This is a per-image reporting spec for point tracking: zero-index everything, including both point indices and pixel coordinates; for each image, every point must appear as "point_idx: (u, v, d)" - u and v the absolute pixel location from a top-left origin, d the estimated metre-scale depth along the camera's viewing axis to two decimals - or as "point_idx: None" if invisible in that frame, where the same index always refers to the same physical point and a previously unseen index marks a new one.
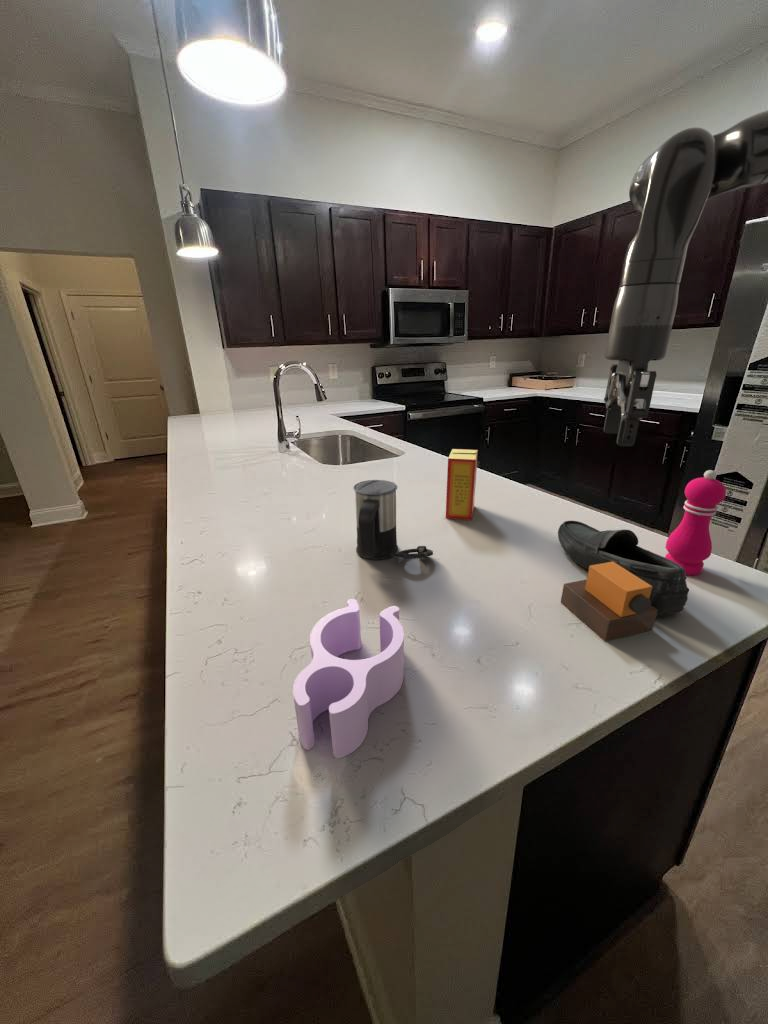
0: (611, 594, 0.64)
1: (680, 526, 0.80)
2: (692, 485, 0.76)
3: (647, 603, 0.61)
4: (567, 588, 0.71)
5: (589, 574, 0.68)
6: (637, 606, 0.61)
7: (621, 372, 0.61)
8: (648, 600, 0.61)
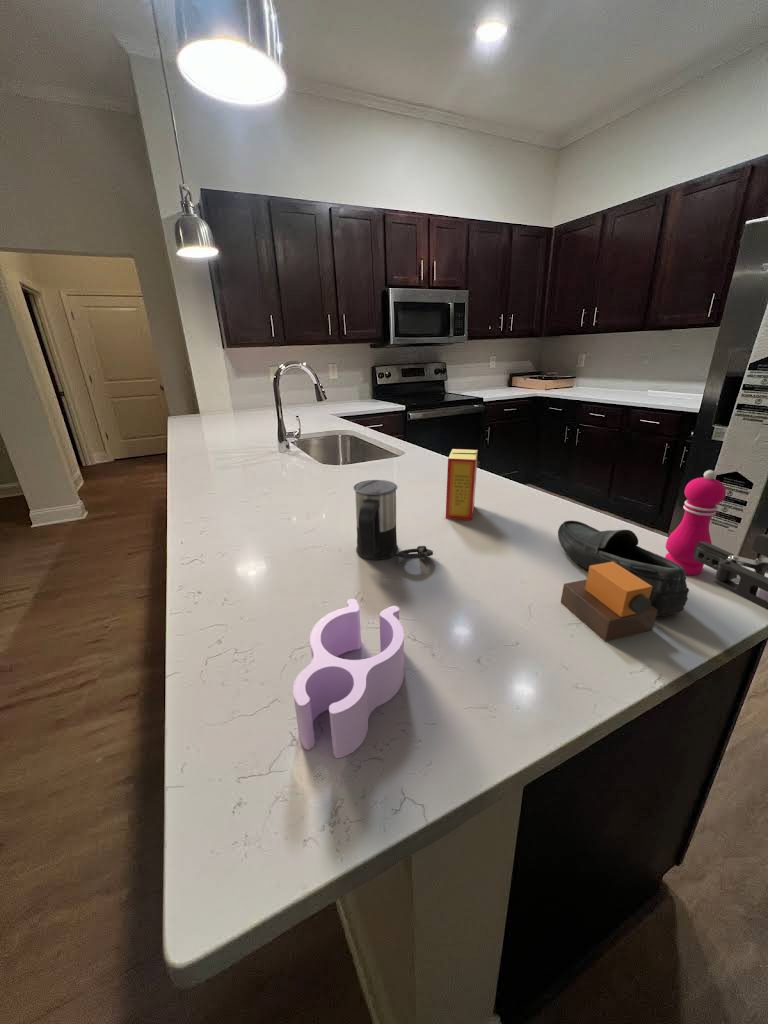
0: (611, 594, 0.64)
1: (680, 526, 0.80)
2: (692, 485, 0.76)
3: (647, 603, 0.61)
4: (567, 588, 0.71)
5: (589, 574, 0.68)
6: (637, 606, 0.61)
7: None
8: (648, 600, 0.61)
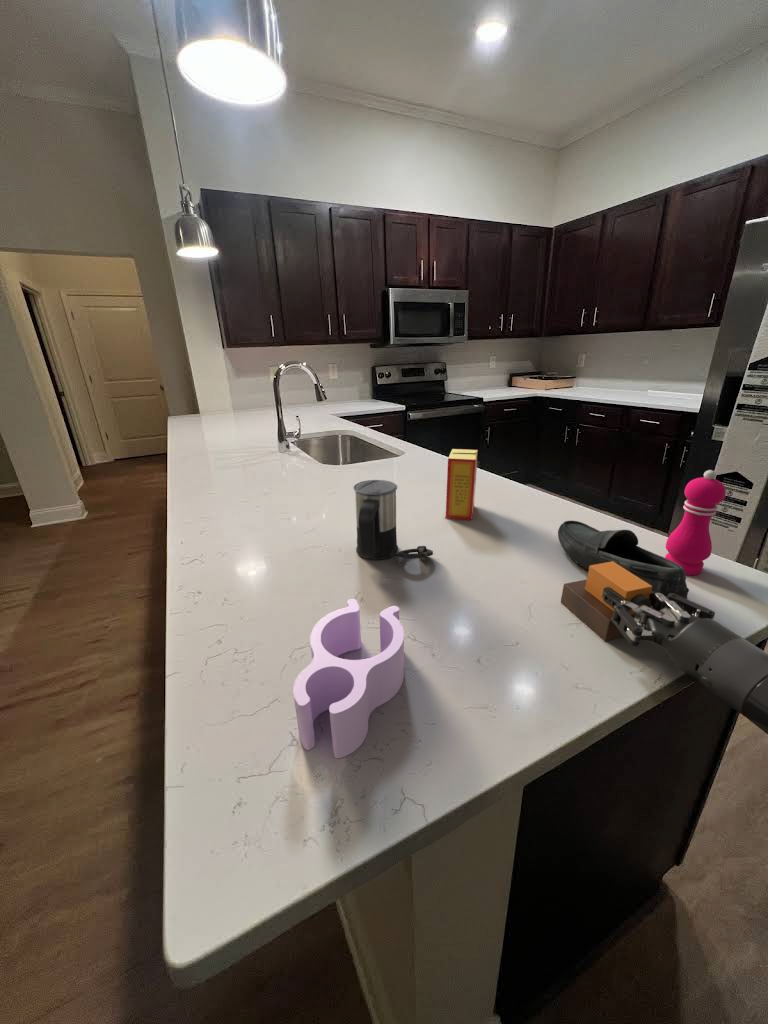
0: None
1: (680, 526, 0.80)
2: (692, 485, 0.76)
3: (647, 603, 0.61)
4: (567, 588, 0.71)
5: (589, 574, 0.68)
6: None
7: None
8: (648, 600, 0.61)
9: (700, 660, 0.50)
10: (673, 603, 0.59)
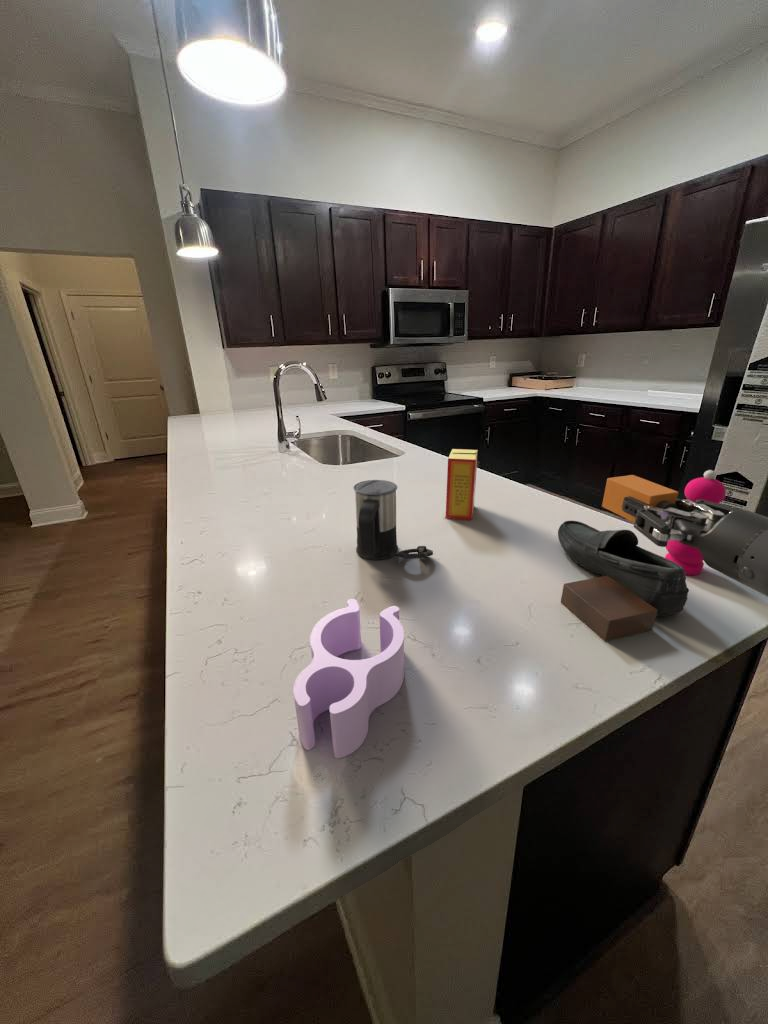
0: None
1: None
2: (692, 485, 0.76)
3: None
4: (567, 588, 0.71)
5: (607, 488, 0.62)
6: None
7: None
8: (674, 505, 0.55)
9: (740, 550, 0.44)
10: (703, 505, 0.53)
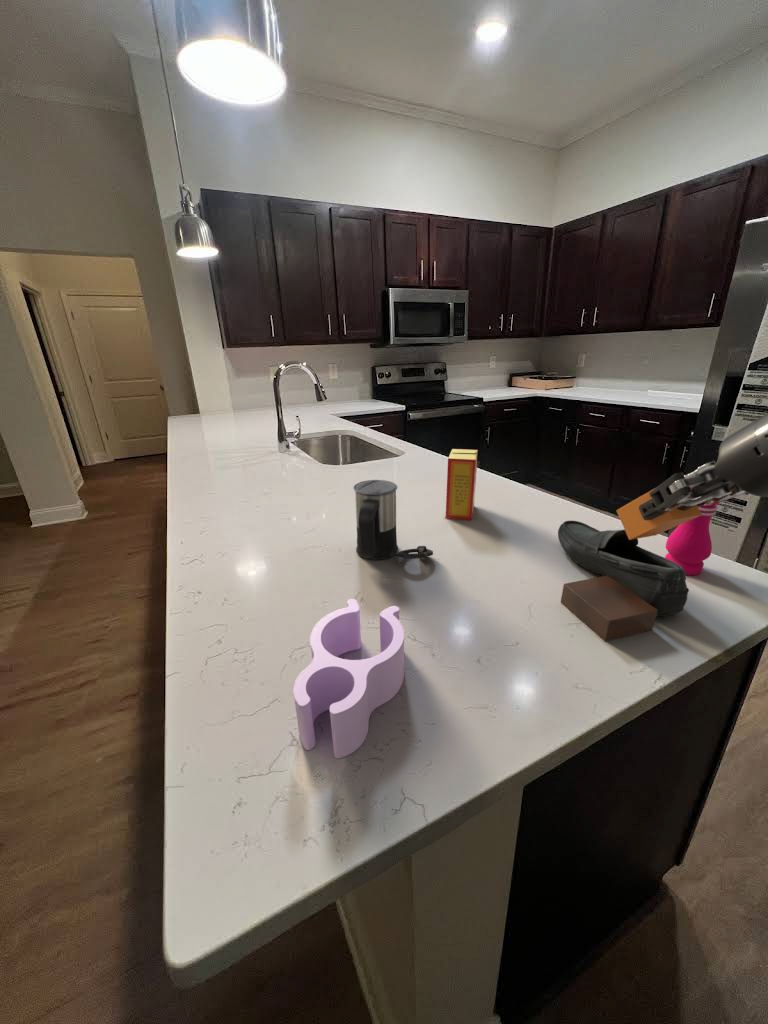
0: None
1: (680, 526, 0.80)
2: None
3: None
4: (567, 588, 0.71)
5: (621, 518, 0.60)
6: None
7: (733, 484, 0.46)
8: None
9: (752, 441, 0.41)
10: None
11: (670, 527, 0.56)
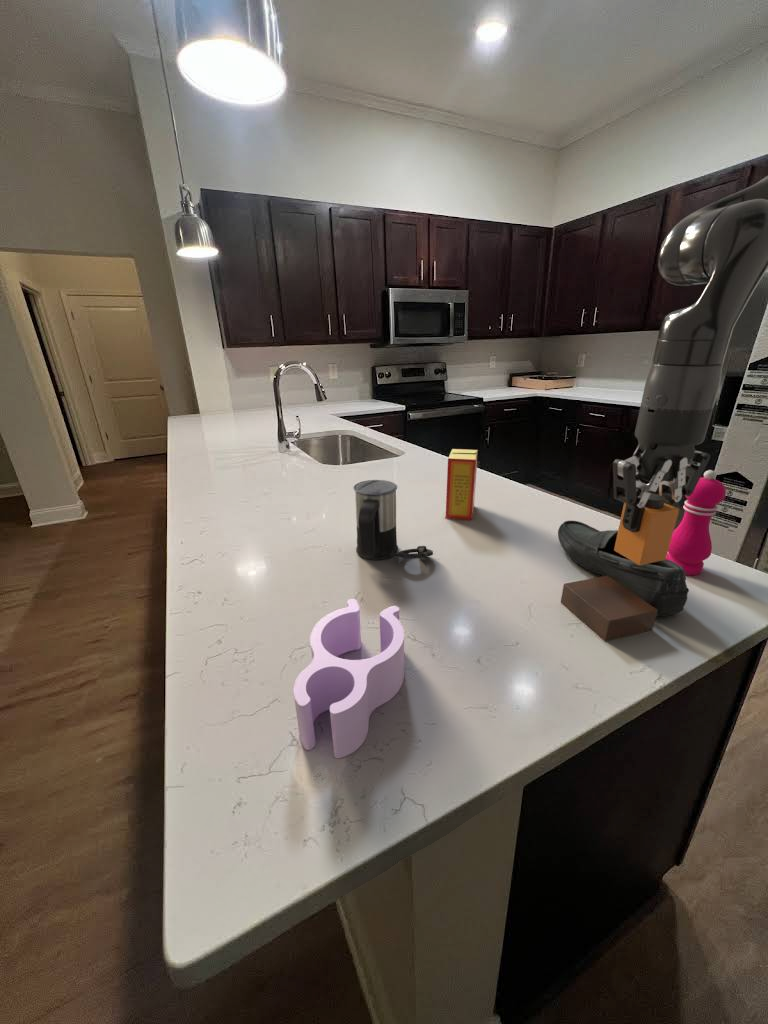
0: None
1: (680, 526, 0.80)
2: None
3: (654, 495, 0.57)
4: (567, 588, 0.71)
5: (622, 552, 0.60)
6: None
7: (668, 456, 0.53)
8: (651, 493, 0.57)
9: (644, 409, 0.52)
10: None
11: (666, 537, 0.57)
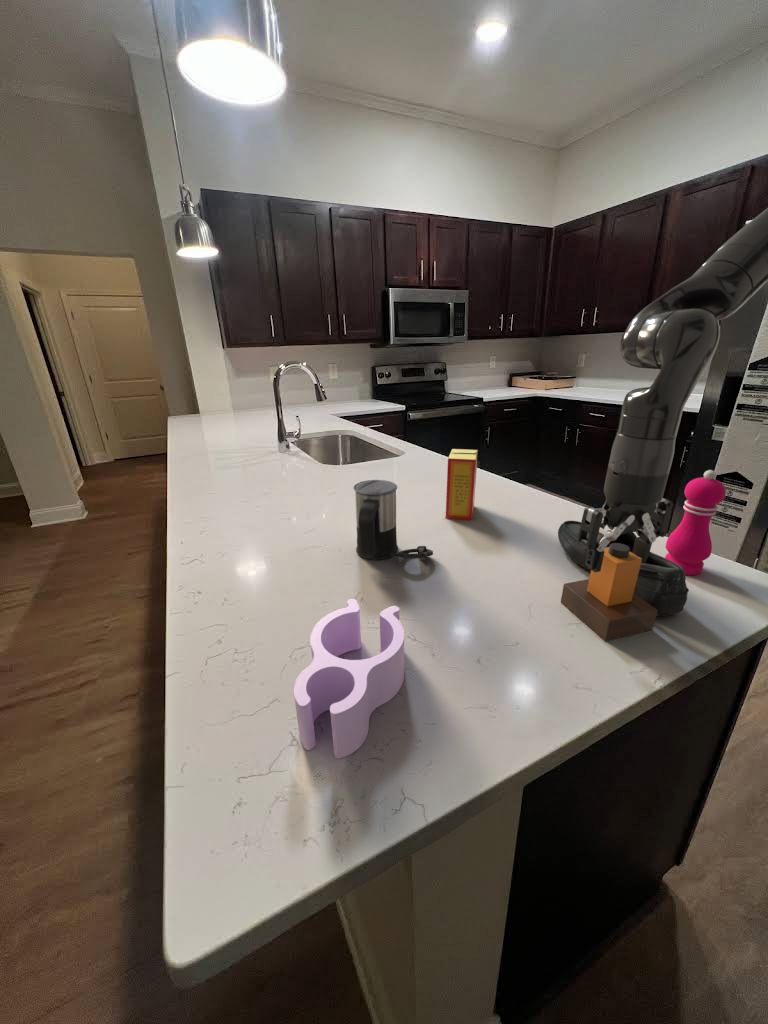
0: (602, 569, 0.65)
1: (680, 526, 0.80)
2: (692, 485, 0.76)
3: (620, 545, 0.65)
4: (567, 588, 0.71)
5: (593, 593, 0.68)
6: (612, 547, 0.64)
7: (632, 511, 0.60)
8: (618, 543, 0.65)
9: (610, 471, 0.59)
10: None
11: (631, 583, 0.65)
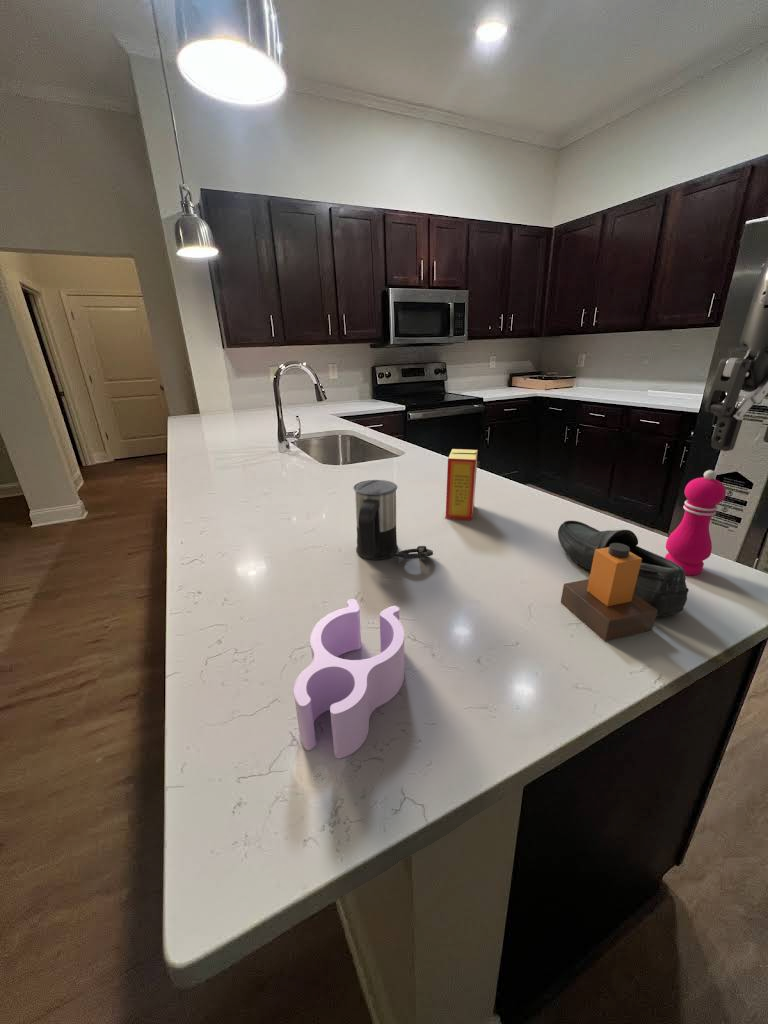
0: (602, 569, 0.65)
1: (680, 526, 0.80)
2: (692, 485, 0.76)
3: (620, 545, 0.65)
4: (567, 588, 0.71)
5: (593, 593, 0.68)
6: (612, 547, 0.64)
7: None
8: (618, 543, 0.65)
9: (758, 307, 0.45)
10: None
11: (631, 583, 0.65)
